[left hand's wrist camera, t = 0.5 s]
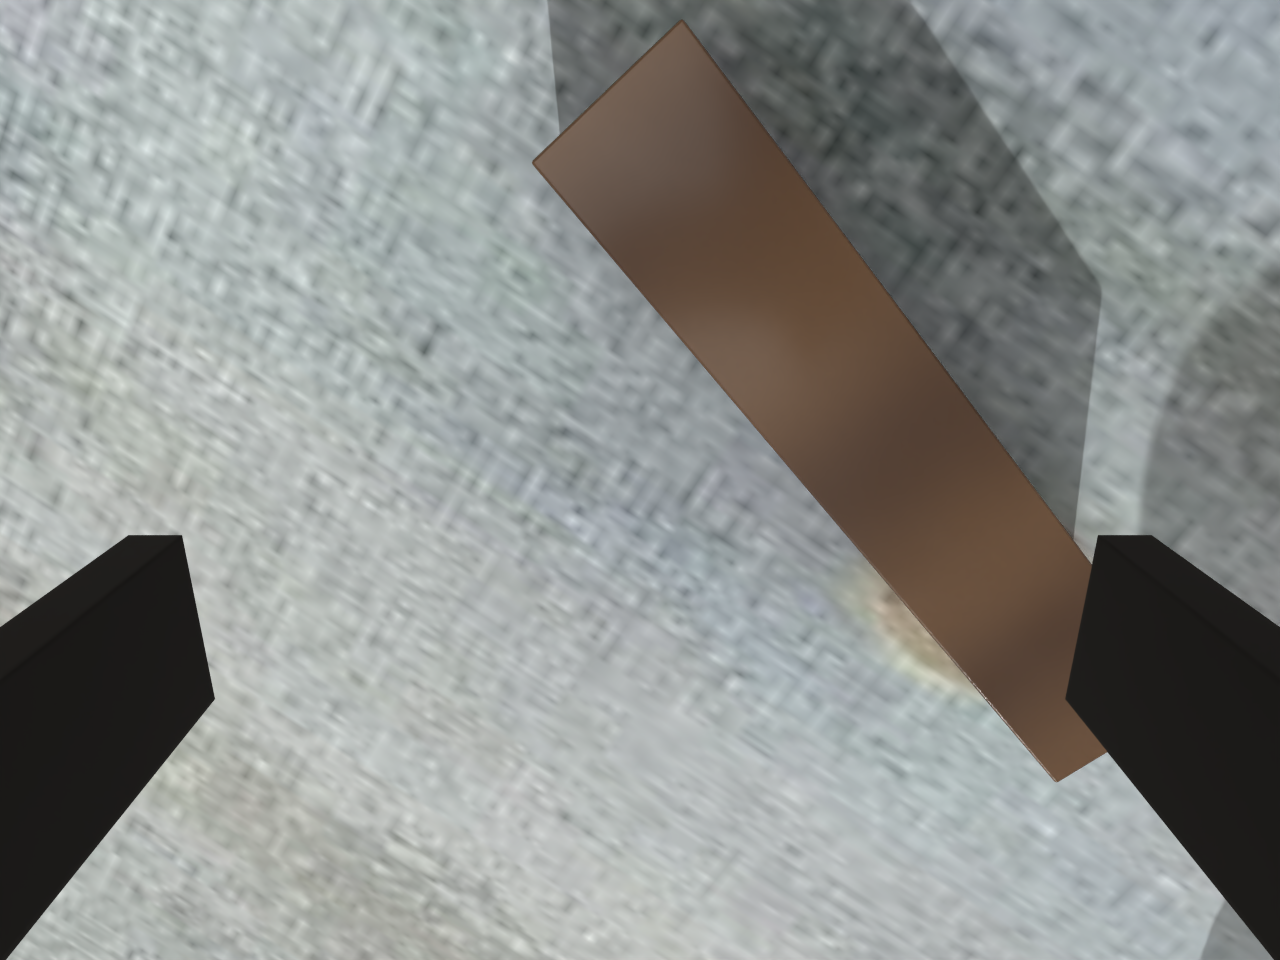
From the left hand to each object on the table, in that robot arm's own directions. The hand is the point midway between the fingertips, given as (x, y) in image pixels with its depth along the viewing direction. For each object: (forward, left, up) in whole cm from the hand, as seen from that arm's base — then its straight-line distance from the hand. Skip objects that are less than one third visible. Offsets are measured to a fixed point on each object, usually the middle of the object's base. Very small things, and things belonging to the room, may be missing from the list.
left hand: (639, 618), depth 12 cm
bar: (-7, +3, -21) cm, 22 cm away
